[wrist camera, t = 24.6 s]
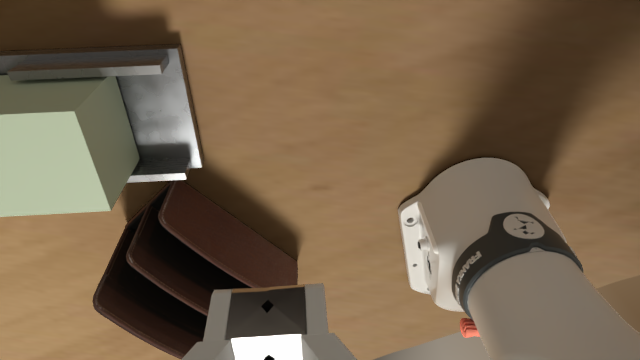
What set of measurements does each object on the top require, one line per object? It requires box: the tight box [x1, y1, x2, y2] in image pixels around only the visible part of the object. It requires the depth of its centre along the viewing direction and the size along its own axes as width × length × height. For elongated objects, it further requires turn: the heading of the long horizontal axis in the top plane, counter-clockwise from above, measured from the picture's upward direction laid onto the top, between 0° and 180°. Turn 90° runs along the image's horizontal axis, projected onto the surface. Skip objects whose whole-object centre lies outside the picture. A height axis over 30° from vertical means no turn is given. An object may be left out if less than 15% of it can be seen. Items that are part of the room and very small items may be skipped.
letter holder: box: [93, 180, 298, 359], centre depth 50 cm, size 10×20×14 cm, turn 43°
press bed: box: [0, 44, 204, 183], centre depth 40 cm, size 29×13×12 cm, turn 91°
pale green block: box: [0, 75, 140, 217], centre depth 39 cm, size 12×10×9 cm
